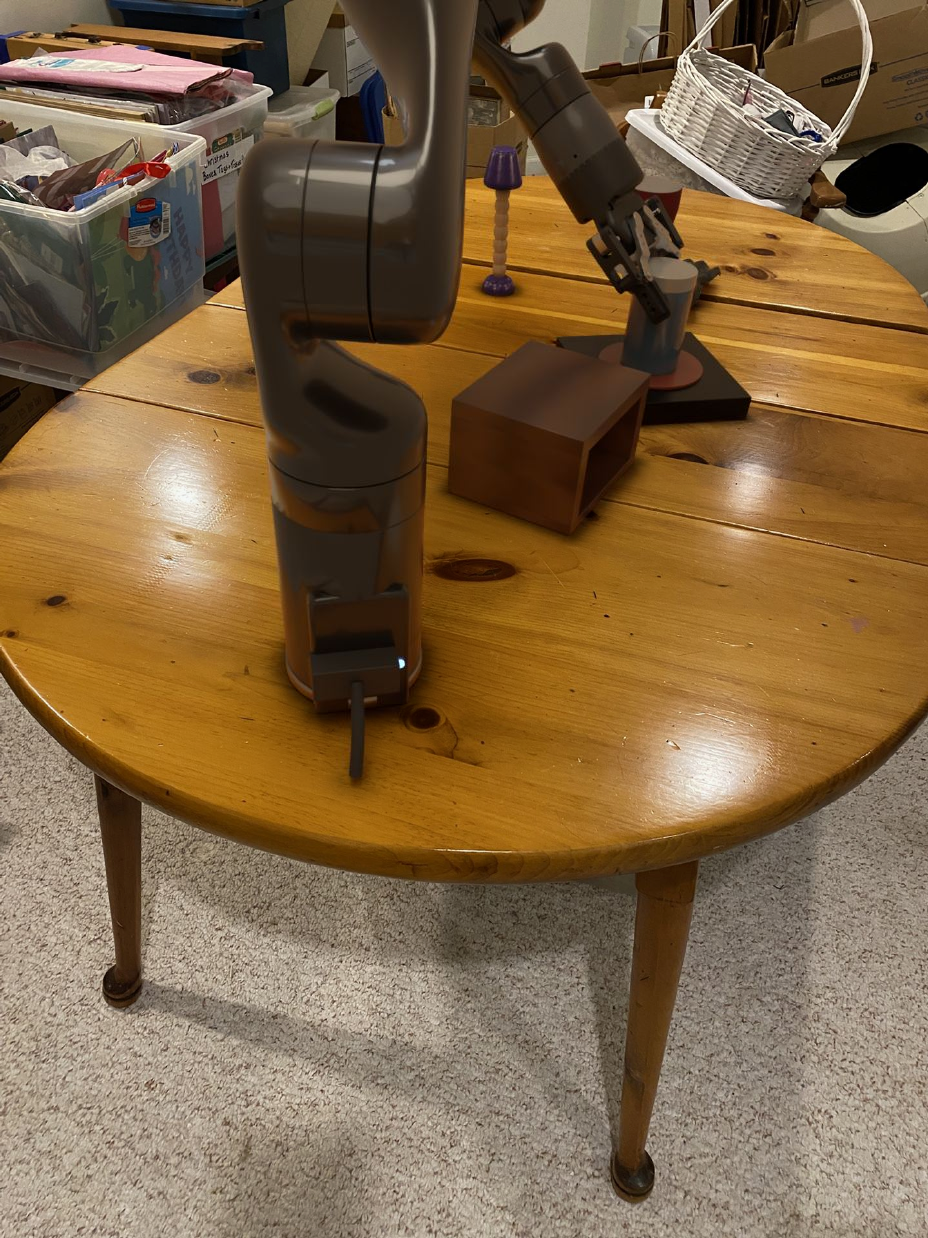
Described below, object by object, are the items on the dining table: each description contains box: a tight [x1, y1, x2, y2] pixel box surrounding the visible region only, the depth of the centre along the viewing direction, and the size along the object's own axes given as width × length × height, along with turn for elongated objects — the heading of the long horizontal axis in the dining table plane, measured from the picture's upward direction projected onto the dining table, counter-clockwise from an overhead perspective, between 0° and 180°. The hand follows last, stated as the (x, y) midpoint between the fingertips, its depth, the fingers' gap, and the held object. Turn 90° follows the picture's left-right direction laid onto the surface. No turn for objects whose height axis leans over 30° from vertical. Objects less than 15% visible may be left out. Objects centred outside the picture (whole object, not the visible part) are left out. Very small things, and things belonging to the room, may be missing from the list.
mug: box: [635, 174, 684, 254], centre depth 126 cm, size 11×8×10 cm
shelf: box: [446, 339, 651, 537], centre depth 82 cm, size 12×14×9 cm
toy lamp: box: [481, 144, 523, 297], centre depth 112 cm, size 5×5×17 cm
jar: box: [621, 257, 698, 375], centre depth 94 cm, size 6×6×10 cm
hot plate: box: [555, 331, 753, 426], centre depth 98 cm, size 16×16×3 cm
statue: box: [682, 258, 722, 307], centre depth 116 cm, size 6×6×20 cm
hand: (676, 307), depth 93 cm, fingers open, 6 cm apart
